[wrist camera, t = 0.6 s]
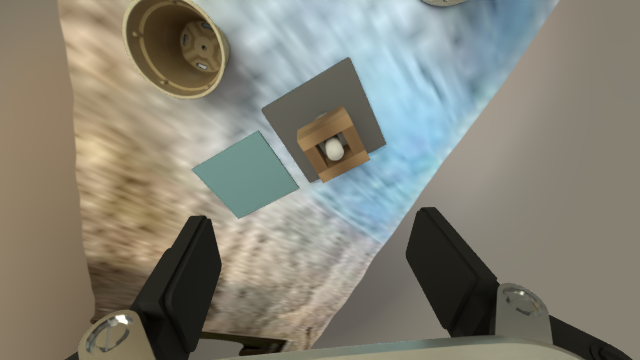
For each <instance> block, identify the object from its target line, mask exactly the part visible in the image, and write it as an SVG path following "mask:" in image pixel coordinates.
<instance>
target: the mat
mask: <svg viewBox="0 0 640 360" xmlns="http://www.w3.org/2000/svg"><path fill="white" fill-rule="evenodd" d="M192 171H193V172H194V173H195V174H196V175H197V176H198V177H199V178H200V179H201V180H202V181H203V182H204V183H205V184H206V185H207V186H208V187H209V188H210V189H211V190H212V192H213V193H214V194H215V195H216V196H217V197H218V198H219V199H220V200H221V201H222V202H223V203H224V204H225V205H226V206H227V207H228V208H229V209H230V210H231V211H232V212H233V214H234V215H235V216H236V217H237V218H238V219H239V218H241V217H243V216H245V215H247V214H249V213H251V212H253V211H255V210H257V209H259V208H261V207H263V206H265V205H267V204H269V203H271V202H273V201H275V200H277V199H279V198H280V197H282V196H284V195H286V194H288V193H290V192H292V191H294V190H296V189H298V188H299V187H298V185H297V184H296V182H295V181H294V180H293V178H292V177H291V175H290V174H289V173H288V171H287V170H286V168H285V167H284V166H283V164H282V163H281V161H280V160H279V158H278V157H277V156H276V154H275V153H274V151H273V150H272V149H271V147H270V146H269V144H268V143H267V142H266V140H265V139H264V137H263V136H262V135H261V133H260V132H259V131H257V132H255V133H253V134H252V135H250V136H248V137H246V138H245V139H243V140H241V141H240V142H238V143H236V144H234V145H233V146H231V147H229V148H227V149H226V150H224V151H222V152H221V153H219V154H217V155H215V156H214V157H212V158H210V159H209V160H207V161H205V162H203V163H202V164H200V165H198V166H196V167H195V168H193V169H192Z"/></svg>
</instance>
